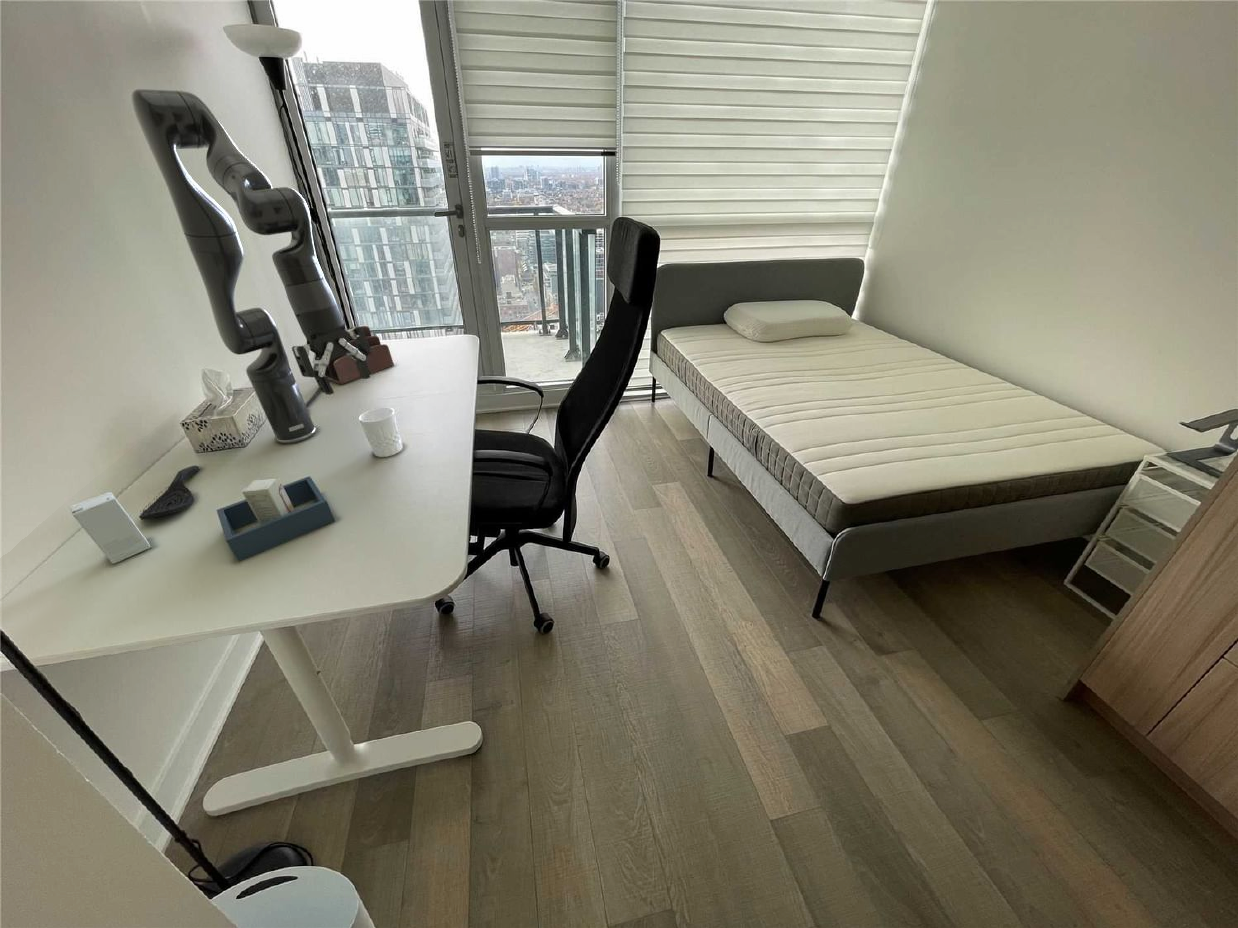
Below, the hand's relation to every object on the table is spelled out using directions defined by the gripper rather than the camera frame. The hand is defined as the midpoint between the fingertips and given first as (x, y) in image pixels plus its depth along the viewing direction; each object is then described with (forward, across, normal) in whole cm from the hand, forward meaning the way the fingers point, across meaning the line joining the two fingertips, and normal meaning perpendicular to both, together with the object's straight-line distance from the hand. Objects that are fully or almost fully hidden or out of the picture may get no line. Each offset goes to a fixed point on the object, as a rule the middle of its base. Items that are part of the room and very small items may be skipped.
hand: (348, 386), depth 105 cm
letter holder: (+16, -42, -66) cm, 80 cm away
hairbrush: (+19, +26, -39) cm, 50 cm away
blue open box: (+22, +21, -6) cm, 31 cm away
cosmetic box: (+20, +40, -25) cm, 51 cm away
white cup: (+22, -9, -11) cm, 26 cm away
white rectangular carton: (+22, +21, -6) cm, 31 cm away
